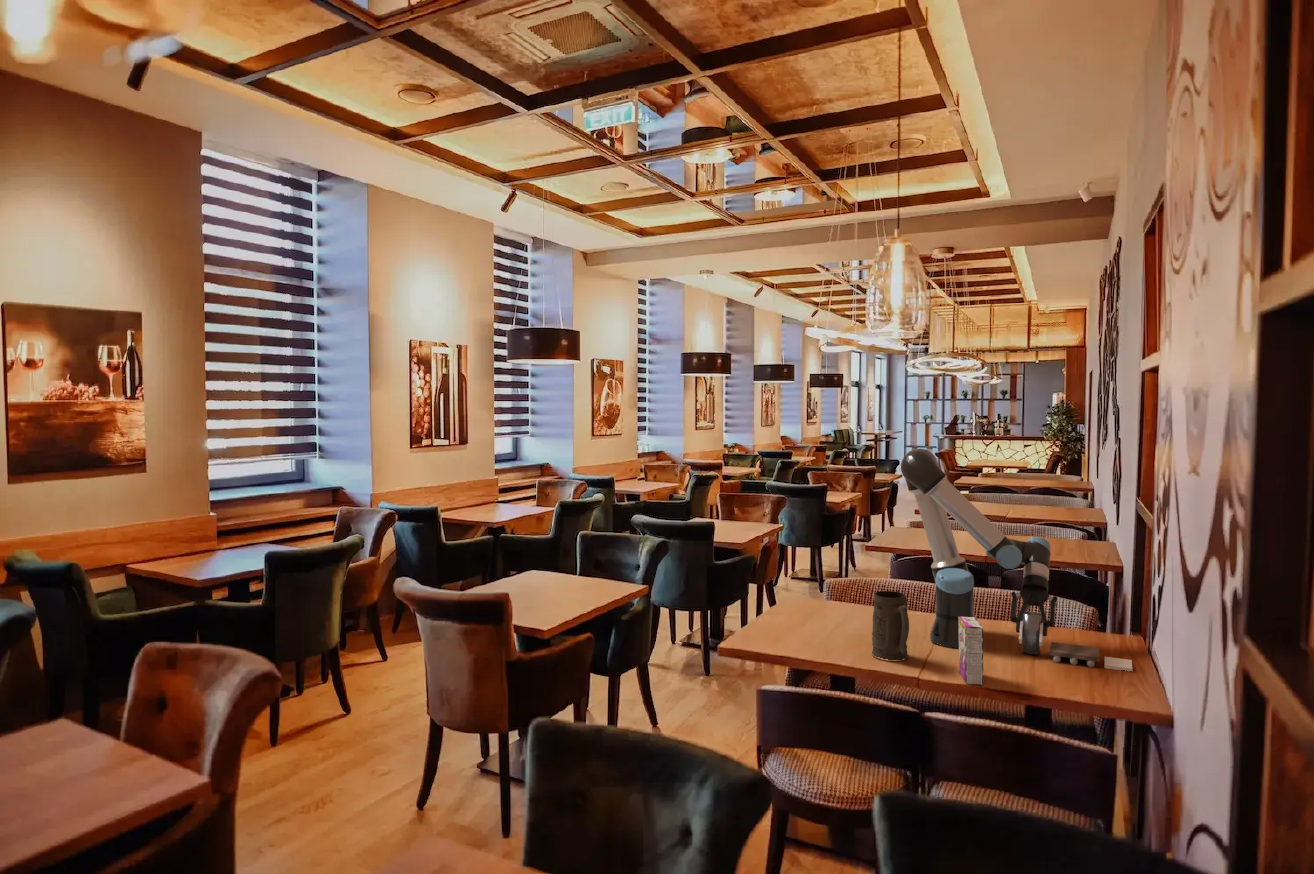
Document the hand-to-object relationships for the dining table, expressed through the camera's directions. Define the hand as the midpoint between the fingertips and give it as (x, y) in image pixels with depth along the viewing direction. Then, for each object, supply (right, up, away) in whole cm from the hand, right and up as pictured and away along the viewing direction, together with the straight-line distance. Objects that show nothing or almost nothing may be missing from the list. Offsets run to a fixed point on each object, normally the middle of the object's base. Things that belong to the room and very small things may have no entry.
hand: (1030, 642), depth 239 cm
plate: (+22, -5, -9) cm, 24 cm away
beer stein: (-42, -5, 0) cm, 42 cm away
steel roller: (+2, -4, +3) cm, 5 cm away
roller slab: (+12, -4, -3) cm, 13 cm away
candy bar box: (-26, -5, -19) cm, 32 cm away
